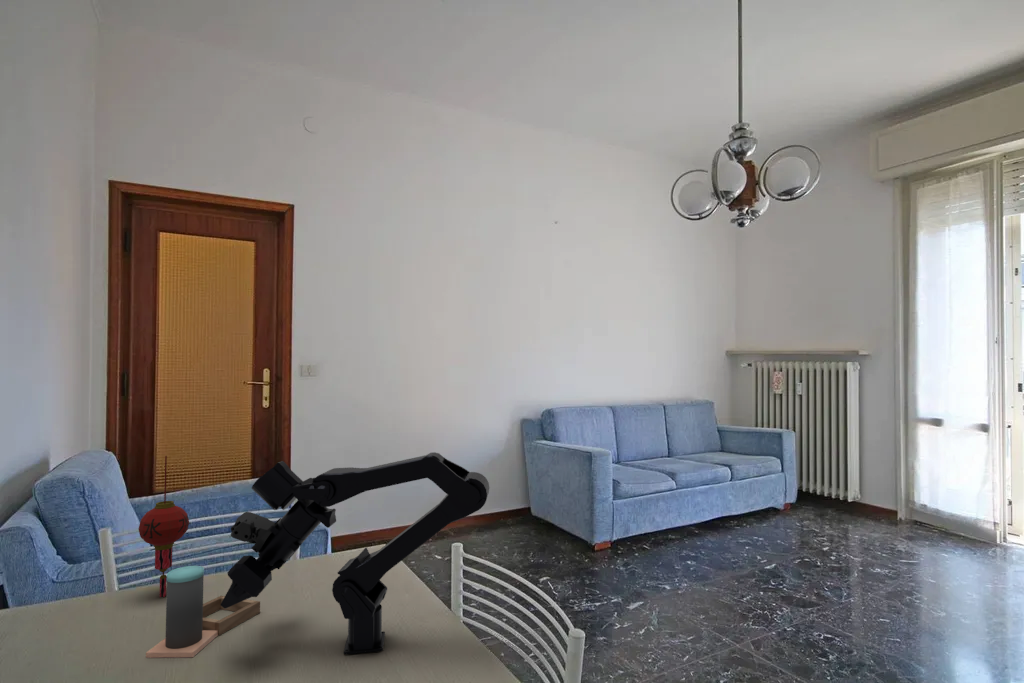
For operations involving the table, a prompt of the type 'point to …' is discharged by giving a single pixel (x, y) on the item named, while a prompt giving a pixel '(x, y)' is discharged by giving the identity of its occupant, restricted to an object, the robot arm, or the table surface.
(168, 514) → the lantern
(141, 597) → the table surface
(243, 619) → the open square brown frame
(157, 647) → the coaster
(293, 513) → the robot arm
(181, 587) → the teal-capped grey cylinder
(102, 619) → the table surface
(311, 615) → the table surface
